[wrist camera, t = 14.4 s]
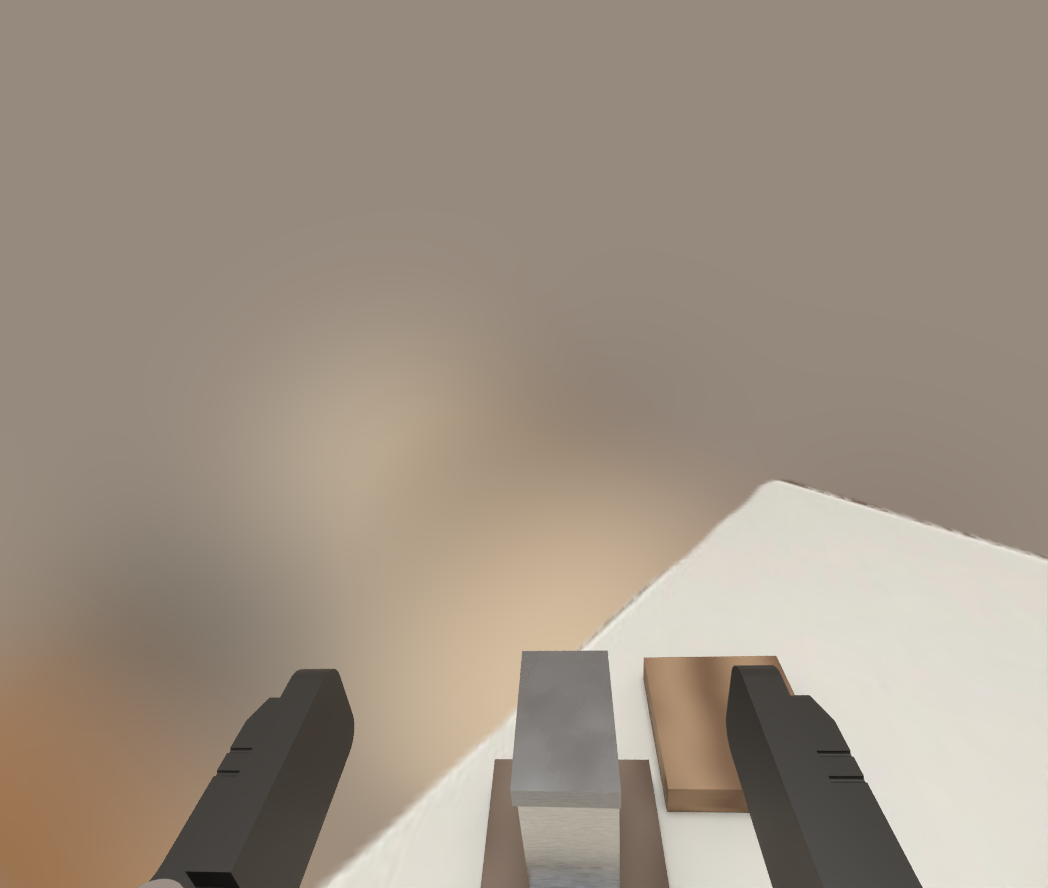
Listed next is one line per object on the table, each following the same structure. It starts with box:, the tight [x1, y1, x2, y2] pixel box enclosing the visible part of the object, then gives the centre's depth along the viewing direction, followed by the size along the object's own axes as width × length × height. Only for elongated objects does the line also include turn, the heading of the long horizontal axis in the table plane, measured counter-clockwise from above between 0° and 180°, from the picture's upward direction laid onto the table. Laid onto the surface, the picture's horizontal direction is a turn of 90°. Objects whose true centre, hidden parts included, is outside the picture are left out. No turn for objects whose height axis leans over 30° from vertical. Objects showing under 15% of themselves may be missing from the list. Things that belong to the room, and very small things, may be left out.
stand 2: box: [643, 656, 794, 812], centre depth 40 cm, size 11×11×2 cm
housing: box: [510, 651, 621, 888], centre depth 30 cm, size 5×8×12 cm, turn 176°
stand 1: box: [481, 759, 669, 888], centre depth 33 cm, size 11×11×2 cm
